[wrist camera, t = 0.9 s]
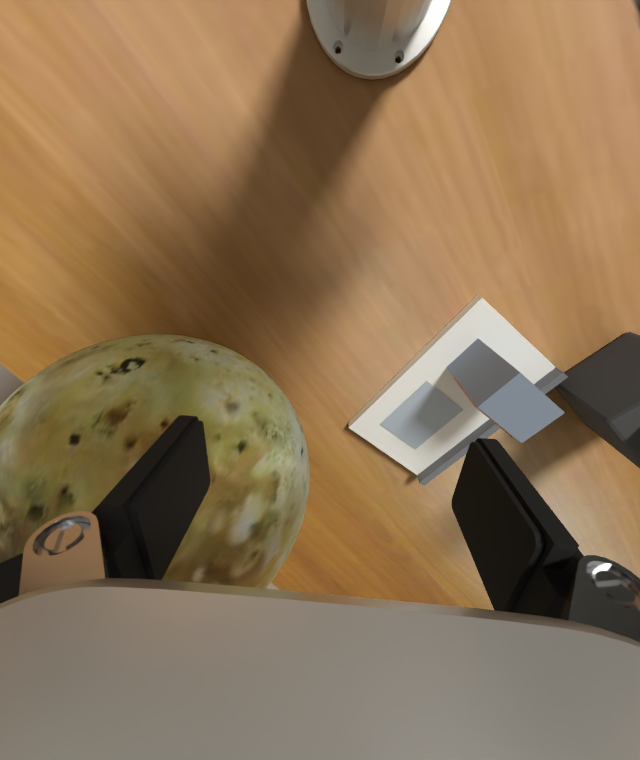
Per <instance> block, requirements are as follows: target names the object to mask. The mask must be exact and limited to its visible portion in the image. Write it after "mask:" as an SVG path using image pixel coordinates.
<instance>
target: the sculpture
mask: <svg viewBox="0 0 640 760" xmlns="http://www.w3.org/2000/svg"><path fill="white" fill-rule="evenodd" d="M565 374H566V375H567V376H568V378H566V379H565V380H564V381H562V382H561V383H560V384H558V385H557V386H556V387H555V388H556V389H557V390H558V391H559V392H560V394H561V395H562V396H563V397H564V398H565V400H566V401H567V402H568V403H569V405H570V406H571V407H572V408H573V409H574V411H575V412H576V413H577V414H578V416H579V417H580V418H581V419H582V420H583V422H584V423H585V424H586V425H587V426H588V427H589V428H590V429H592V430H593V431H594V432H595V433H597V434H598V435H599V436H600V437H602V438H603V439H604V440H605V441H607V442H608V443H609V444H610V445H612V446H613V447H614V448H615V449H616V450H618V451H619V452H620V453H621V454H623V455H624V456H625V457H626V458H628V459H629V460H630V461H631V462H633V463H634V464H635V465H636V466H638V467H639V468H640V336H639V335H637V334H634V333H631V332H629V333H625V334H623V335H622V336H620V337H619V338H617V339H615V340H614V341H612V342H611V343H609V344H608V345H606V346H605V347H603V348H602V349H600V350H599V351H597V352H596V353H594V354H593V355H591V356H590V357H588V358H586V359H585V360H583V361H582V362H580V363H579V364H577V365H576V366H574V367H573V368H571V369H570V370H568V371H567V372H565Z"/></svg>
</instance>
